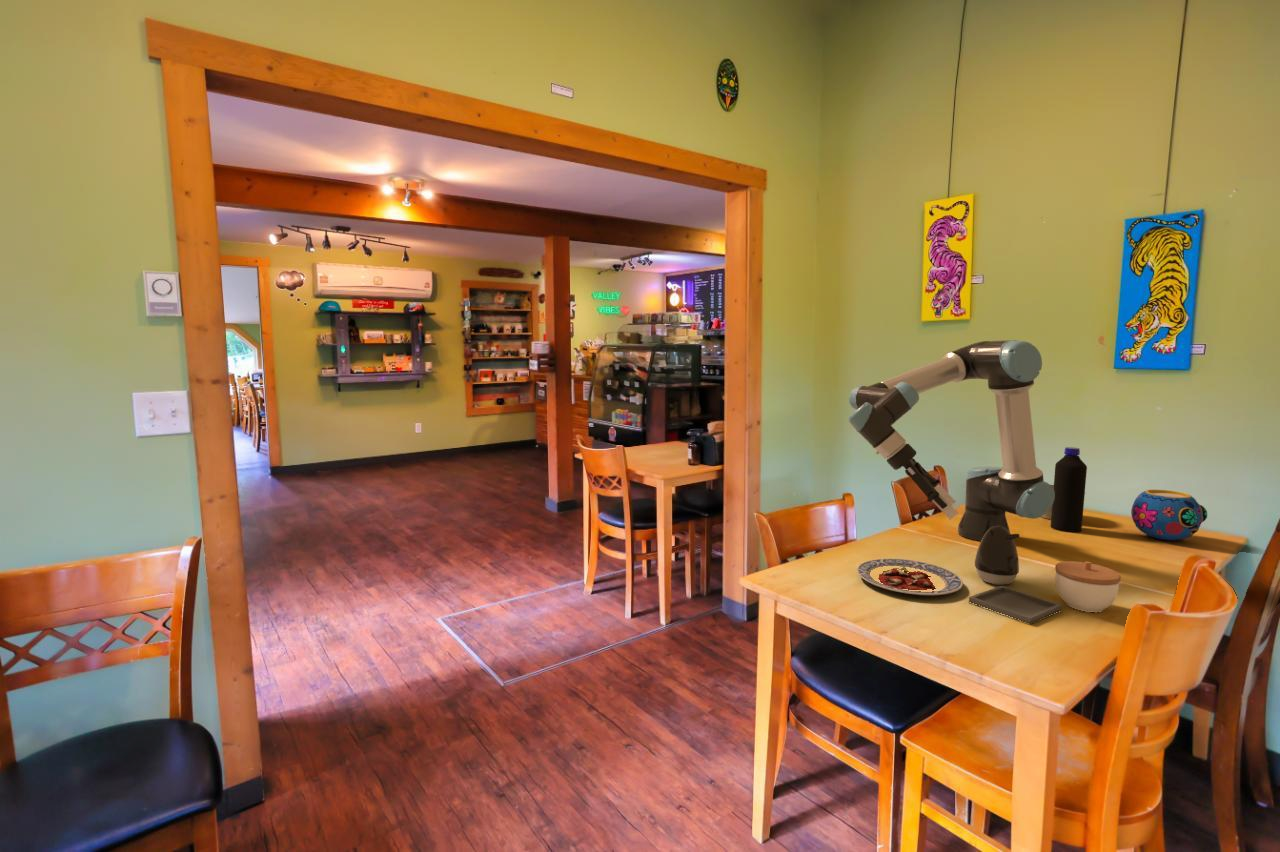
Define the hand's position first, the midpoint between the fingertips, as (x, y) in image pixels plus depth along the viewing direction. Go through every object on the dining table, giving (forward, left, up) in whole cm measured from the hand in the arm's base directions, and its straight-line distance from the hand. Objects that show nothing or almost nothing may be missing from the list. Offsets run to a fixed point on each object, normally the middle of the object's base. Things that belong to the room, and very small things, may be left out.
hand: (953, 510), depth 166 cm
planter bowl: (-15, +88, -19) cm, 91 cm away
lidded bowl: (+29, +9, -19) cm, 35 cm away
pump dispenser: (+9, +7, -19) cm, 22 cm away
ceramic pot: (+16, +91, -19) cm, 94 cm away
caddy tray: (+20, -6, -18) cm, 28 cm away
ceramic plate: (-3, -13, -19) cm, 23 cm away
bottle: (-6, +76, -19) cm, 78 cm away
